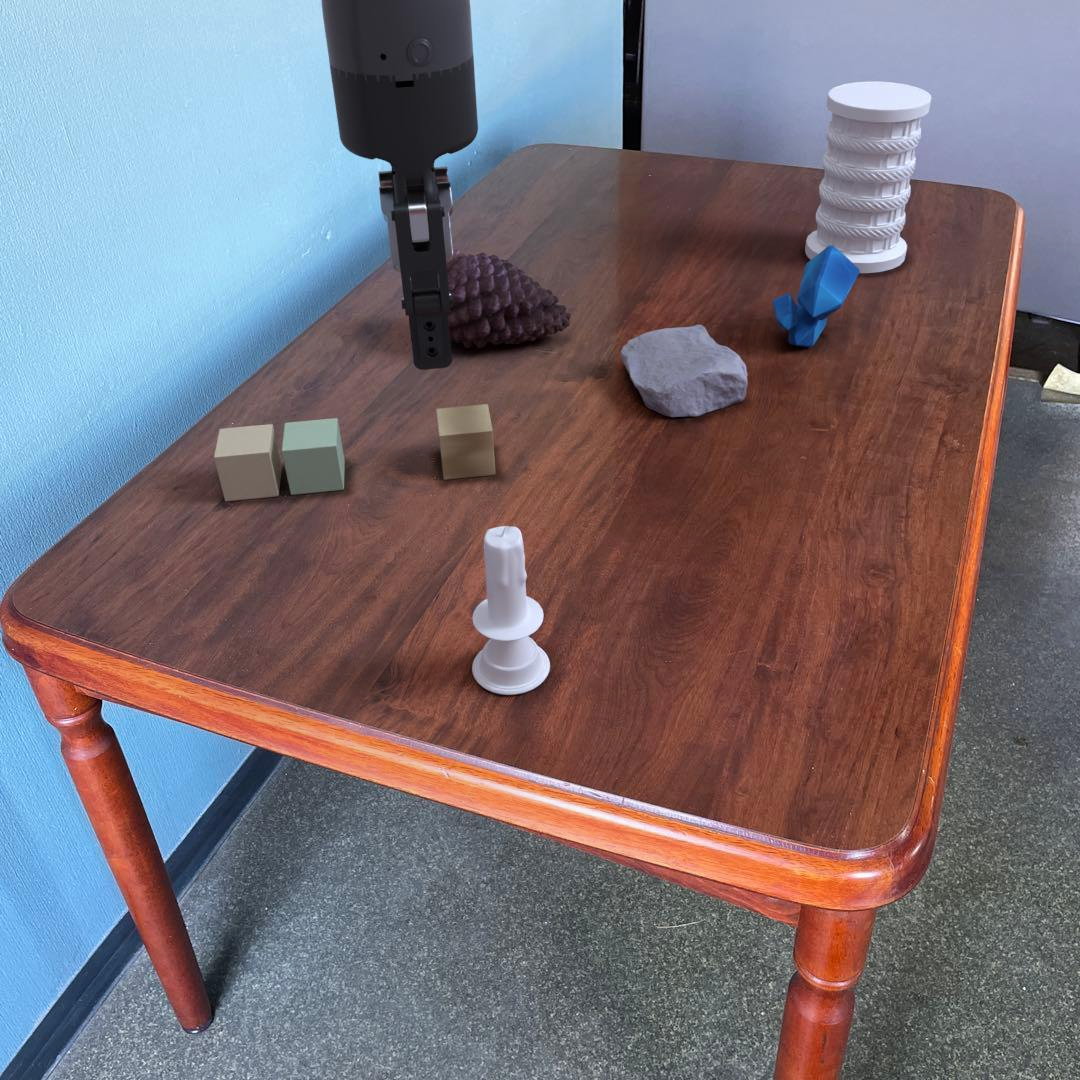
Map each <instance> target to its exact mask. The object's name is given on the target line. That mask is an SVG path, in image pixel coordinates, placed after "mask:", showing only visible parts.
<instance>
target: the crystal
mask: <svg viewBox="0 0 1080 1080" xmlns="http://www.w3.org/2000/svg"><path fill="white" fill-rule="evenodd" d="M859 275H860V273H859V268H858V267H856V266H855V265H854V264H853V263H852V262H851V261H850V260H849V259H848V258H847V257H846V256H845V255H844V254H843V253H842V252H841V251H839V250H838V249H837V248H836V247H834V246H832V245H829V246H828V247H827V248H825V249H824V250H823V251H821V252H820V253H819V254H818V255H816V256H815V257H814V258H813V259H811V260H810V259H809V260H808V262H806V264H805V267H804V270H803V275H802V279H801V282H800V286H799V290H798V294H797V297H796V302H797V303H796V302H795V300H794V297H793V296H792V294H791V293H785V294H783V295H780V296H779V297H776V298H775V299H773V300H772V306H773V310H774V314H775V319H776V321H777V323H778V325H779V327H780V329H781V331H784V332H785V331H788V337H787V338H788V339H787V342H788V344H789V346H796V347H802V348H807V349H810V348H812V347H813V346H814V345H815V344H816V342H817V340H818V339H819V337H820V335H821V334H822V332H823V331H824V329H825V328H826V326H827V323H828V317H829V316H831V315H832V314H833V313H835V312H836V311H838V310H839V309H840V308H842V306H843V305H844V303H845V301H846V299H847V296H848V295H849V294H850V291H851V290H852V287H853V286H854V284H855V282H856V280H857V278H858V276H859Z"/></svg>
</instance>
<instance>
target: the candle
mask: <svg viewBox="0 0 1080 1080" xmlns="http://www.w3.org/2000/svg"><path fill="white" fill-rule="evenodd" d="M483 561H484V573H485V574H484V575H485V585H486V587H485V588H486V598H485V599H484V600H482V601H481V602H480V603H479V604H477V606H476V607H475V608H474V609H473V613H472V623H473V626H474V628H475V630H476V631H477V632H478V633H480V634H481V635H483V637H486V638H488V641H486V642H485V644H484V645H483V648H482V649H481V650H480V651H479V652H478V653H477V654H476V656H475V657H474V659H473V661H472V665H471V666H472V667H471V670H472V675H473V678H474V680H475V681H476V682H477V684H478V685H479V686H480V687H482V688H483V689H484V690H487V691H489V692H491V693H492V694H497V695H502V696H503V695H505V696H515V695H516V696H517V695H521V694H525V693H528V692H530V691H533V690H534V689H536V688H537V687H539V686H541V684H542V683H543V682H545V680H546V679H547V677H548V676H549V673H550V671H551V663H550V662H551V661H550V658H549V656H548V654H547V653H546V652H545V650H544V649H542V648H541V647H540V646H538V644H537V643H536V642H535V640H534V639H533V638H532V637H530V636H531V635H532V634H534V633H535V632H536V631H538V630H539V628H540V627H541V626H542V624H543V621H544V610H543V608H542V606H541V604H540V603H539V602H538V601H536V600H535V599H533V598H532V597H530V596H529V595H527V585H526V584H527V583H526V581H527V578H528V574H527V571H526V565H525V564H526V554H525V549H524V540H523V534H522V532H521V530H520V529H519V527H517V526H513V525H512V526H508V525H501V526H497V527H496V526H495V527H492V528H488V530H486V531H485V534H484V537H483Z"/></svg>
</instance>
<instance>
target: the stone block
mask: <svg viewBox="0 0 1080 1080" xmlns="http://www.w3.org/2000/svg"><path fill="white" fill-rule="evenodd" d="M620 360H622V362H623V364H624V366H625V369H626V372H627V373H628V374H629V378H630V380H631V381H632V383H633V385H634V387H635V388H636V389H637V390H638V392H639V394H640V396H641V398H642V401H643V404H644V406H645V407H647V409H649V410H652V411H654V412H657V413H658V414H660V415H662V416H665V417H670V418H677V417H678V418H679V417H682V418H683V417H685V418H686V417H696V418H697V417H700V416H702V415H705V414H707V413H711V412H712V411H716V410H719V409H724V408H727V407H730V406H733V405H736V404H739V403H741V402H743V401H744V400H745V399H746V396H747V389H748V385H749V384H748V376H749V373H748V371H747V365H746V363H745V362H744V360H742V357H741V356H740V354H738V353H737V352H736V351H734V350H732V349H731V348H729V347H728V346H727V345H721V344H718V342H716V341H715V340H714V339H713V338H712V337H711V336H710V335H709V333H708V330H707V329H706V327H705V326H704V325H702V324H695V325H692V326H688V327H687V326H686V327H677V326H676V327H671V328H669V327H665V328H661V329H654V330H652V331H646V332H644V333H642V334H640V335H638V336H636V337H634V338H632V339H628V341H627V343H626V344H624V345H623V346H622V347H621V351H620Z"/></svg>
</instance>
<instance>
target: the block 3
mask: <svg viewBox="0 0 1080 1080" xmlns="http://www.w3.org/2000/svg"><path fill="white" fill-rule="evenodd" d="M435 411H436V420H437V421H436V422H437V429H438V430H437V431H438V440H439V449H440V458H441V459H440V460H441V468H442V469H441V470H442V479H443V480H444V481H447V480H456V479H467V478H477V477H486V476H487V477H489V476H496V462H495V461H496V460H495V459H496V458H495V447H494V445H495V444H494V432H493V431H494V430H493V425H492V419H491V413H490V409H489V404H488V403H485V404H484V403H483V404H474V405H473V404H472V405H462V406H461V405H460V406H452V407H441V408H436V409H435Z"/></svg>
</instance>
